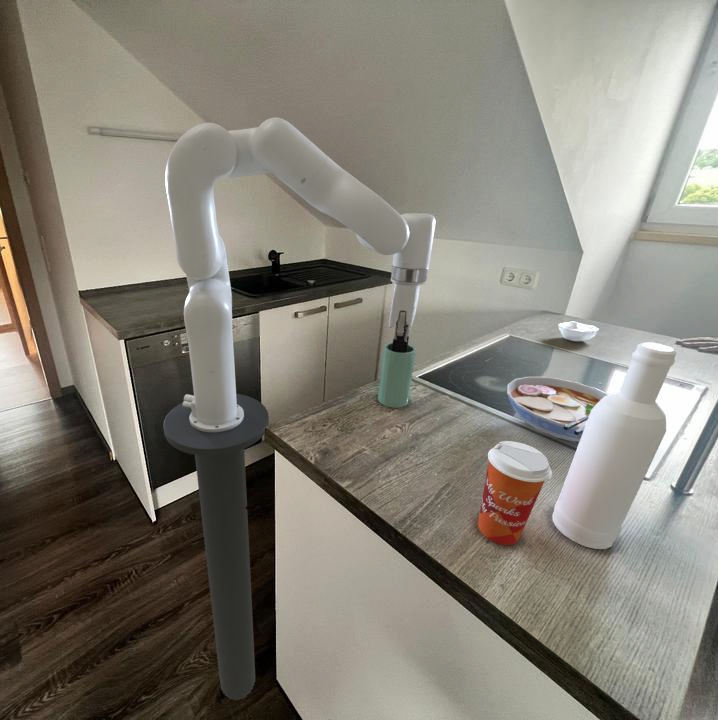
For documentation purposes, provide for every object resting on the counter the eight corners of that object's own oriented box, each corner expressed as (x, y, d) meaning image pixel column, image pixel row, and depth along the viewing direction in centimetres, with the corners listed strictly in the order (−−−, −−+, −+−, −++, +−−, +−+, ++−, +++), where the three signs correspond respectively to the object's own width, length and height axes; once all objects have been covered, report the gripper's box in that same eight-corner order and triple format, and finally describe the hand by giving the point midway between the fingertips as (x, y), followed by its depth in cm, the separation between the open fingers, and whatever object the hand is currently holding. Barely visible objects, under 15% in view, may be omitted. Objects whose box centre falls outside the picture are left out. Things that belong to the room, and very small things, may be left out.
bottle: (617, 560, 54) (712, 365, 42) (551, 535, 58) (621, 350, 46) (610, 522, 60) (691, 343, 48) (551, 502, 64) (612, 331, 52)
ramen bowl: (537, 394, 99) (546, 364, 95) (648, 440, 80) (663, 406, 77) (473, 419, 87) (481, 387, 84) (585, 480, 69) (600, 442, 66)
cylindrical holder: (375, 404, 93) (381, 351, 88) (380, 391, 100) (386, 340, 94) (406, 410, 91) (414, 355, 85) (409, 396, 97) (417, 344, 92)
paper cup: (462, 530, 59) (481, 455, 53) (481, 503, 64) (500, 432, 58) (518, 562, 54) (546, 483, 48) (534, 530, 59) (561, 455, 53)
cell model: (602, 345, 130) (609, 326, 128) (566, 344, 131) (572, 325, 128) (582, 335, 140) (588, 317, 137) (548, 334, 140) (553, 316, 137)
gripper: (395, 267, 91) (387, 340, 98) (386, 280, 77) (377, 364, 85) (429, 269, 89) (418, 344, 96) (425, 283, 75) (413, 369, 82)
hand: (399, 353), depth 90 cm, fingers closed
